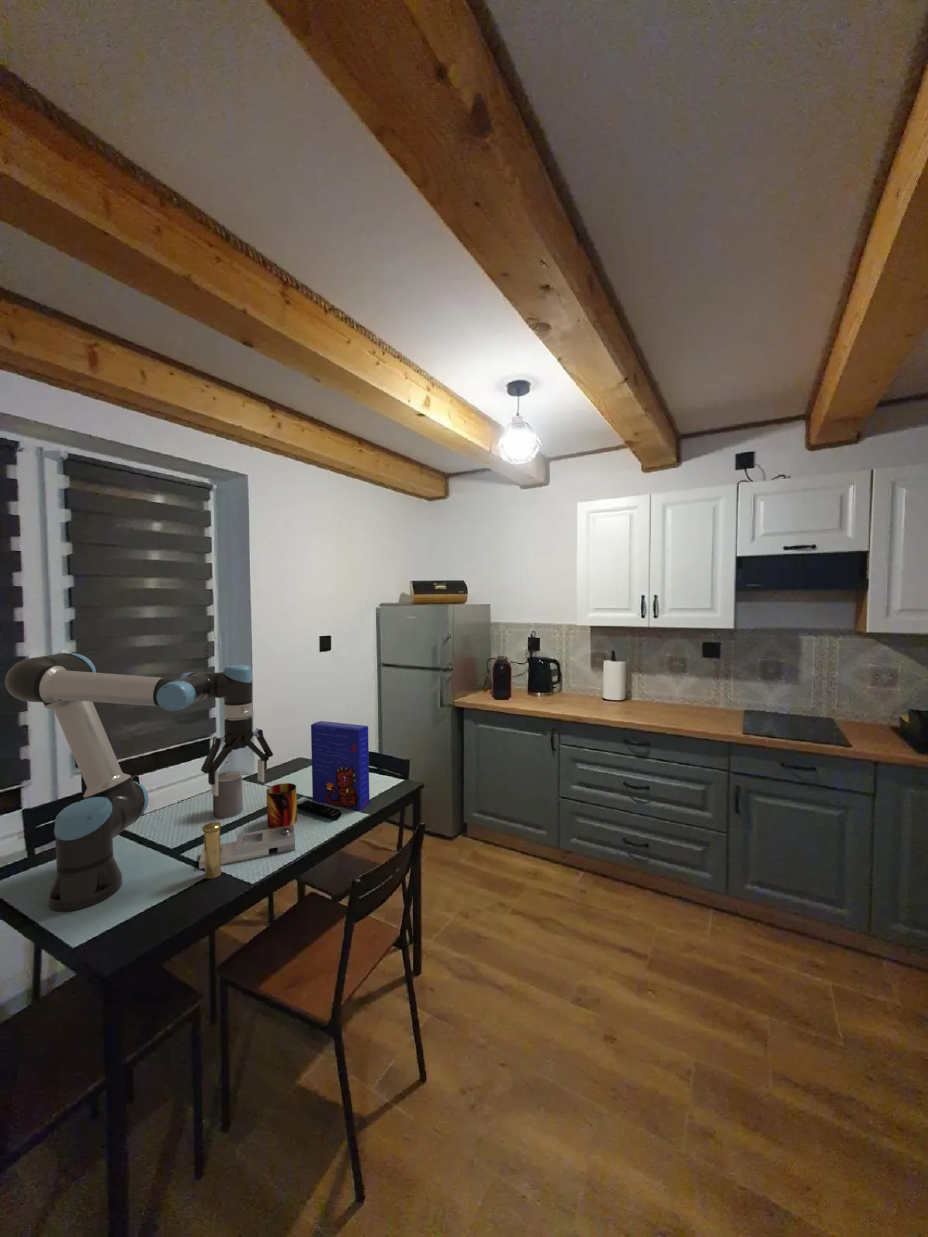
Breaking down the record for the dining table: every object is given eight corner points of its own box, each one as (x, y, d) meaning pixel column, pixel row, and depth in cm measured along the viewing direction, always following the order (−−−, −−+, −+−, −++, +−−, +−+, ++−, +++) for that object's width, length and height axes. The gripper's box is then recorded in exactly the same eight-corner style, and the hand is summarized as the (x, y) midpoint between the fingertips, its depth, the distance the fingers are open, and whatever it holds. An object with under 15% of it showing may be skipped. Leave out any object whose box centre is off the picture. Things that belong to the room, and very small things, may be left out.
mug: (285, 835, 154) (284, 799, 154) (261, 824, 162) (260, 790, 161) (310, 823, 162) (309, 789, 161) (286, 813, 170) (285, 781, 169)
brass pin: (203, 881, 129) (201, 831, 128) (205, 872, 133) (203, 823, 133) (221, 877, 131) (220, 827, 130) (223, 868, 135) (221, 820, 134)
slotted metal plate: (199, 869, 135) (198, 853, 134) (203, 854, 143) (202, 839, 143) (295, 850, 145) (294, 835, 144) (293, 836, 153) (293, 822, 153)
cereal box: (369, 803, 177) (368, 725, 176) (360, 810, 172) (358, 729, 171) (322, 795, 186) (321, 720, 185) (312, 801, 180) (310, 724, 179)
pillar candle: (210, 812, 172) (208, 772, 171) (238, 804, 178) (237, 765, 177) (217, 821, 164) (216, 779, 164) (246, 813, 171) (245, 772, 170)
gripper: (198, 727, 127) (199, 804, 128) (284, 712, 147) (284, 779, 147) (187, 723, 132) (188, 797, 133) (272, 708, 151) (272, 773, 152)
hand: (238, 787), depth 140 cm, fingers open, 13 cm apart
